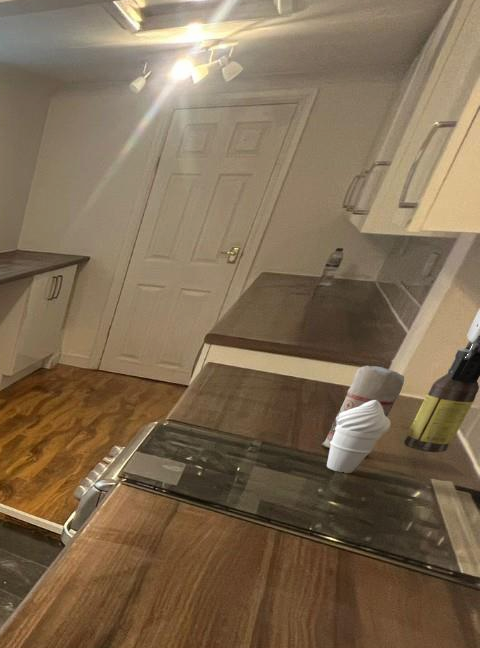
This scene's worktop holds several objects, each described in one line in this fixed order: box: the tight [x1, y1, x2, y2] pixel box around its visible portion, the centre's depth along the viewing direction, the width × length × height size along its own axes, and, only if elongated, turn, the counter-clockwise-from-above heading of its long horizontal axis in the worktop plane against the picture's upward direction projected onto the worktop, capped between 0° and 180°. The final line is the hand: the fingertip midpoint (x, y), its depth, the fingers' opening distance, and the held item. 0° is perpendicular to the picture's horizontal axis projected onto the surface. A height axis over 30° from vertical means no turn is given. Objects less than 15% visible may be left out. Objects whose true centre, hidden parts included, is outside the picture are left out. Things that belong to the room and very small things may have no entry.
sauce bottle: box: [403, 348, 480, 453], centre depth 113 cm, size 6×6×20 cm
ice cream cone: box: [326, 400, 392, 474], centre depth 124 cm, size 8×8×16 cm
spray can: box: [321, 365, 405, 449], centre depth 134 cm, size 8×8×20 cm
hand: (462, 377), depth 111 cm, fingers closed on sauce bottle, 4 cm apart
